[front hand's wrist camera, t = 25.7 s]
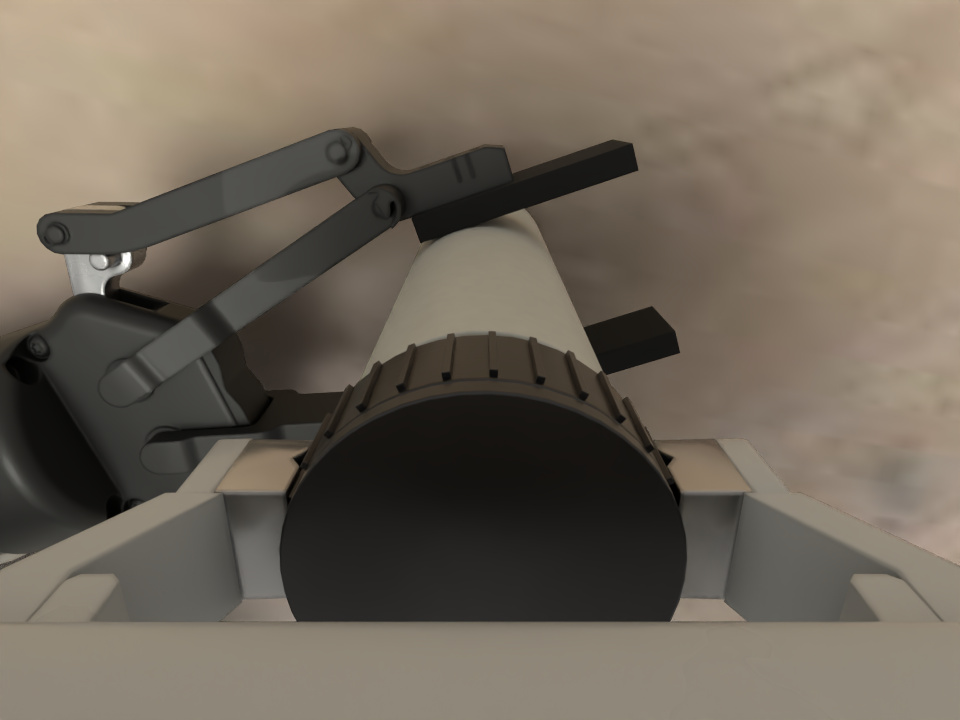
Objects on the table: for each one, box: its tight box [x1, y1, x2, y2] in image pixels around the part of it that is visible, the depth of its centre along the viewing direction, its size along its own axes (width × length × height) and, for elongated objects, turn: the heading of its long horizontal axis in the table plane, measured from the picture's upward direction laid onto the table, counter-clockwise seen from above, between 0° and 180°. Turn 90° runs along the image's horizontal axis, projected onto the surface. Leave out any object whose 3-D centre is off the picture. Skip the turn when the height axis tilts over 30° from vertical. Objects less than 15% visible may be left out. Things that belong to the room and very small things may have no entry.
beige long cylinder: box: [360, 209, 602, 380], centre depth 18 cm, size 5×5×19 cm
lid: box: [279, 331, 687, 622], centre depth 9 cm, size 6×6×2 cm
